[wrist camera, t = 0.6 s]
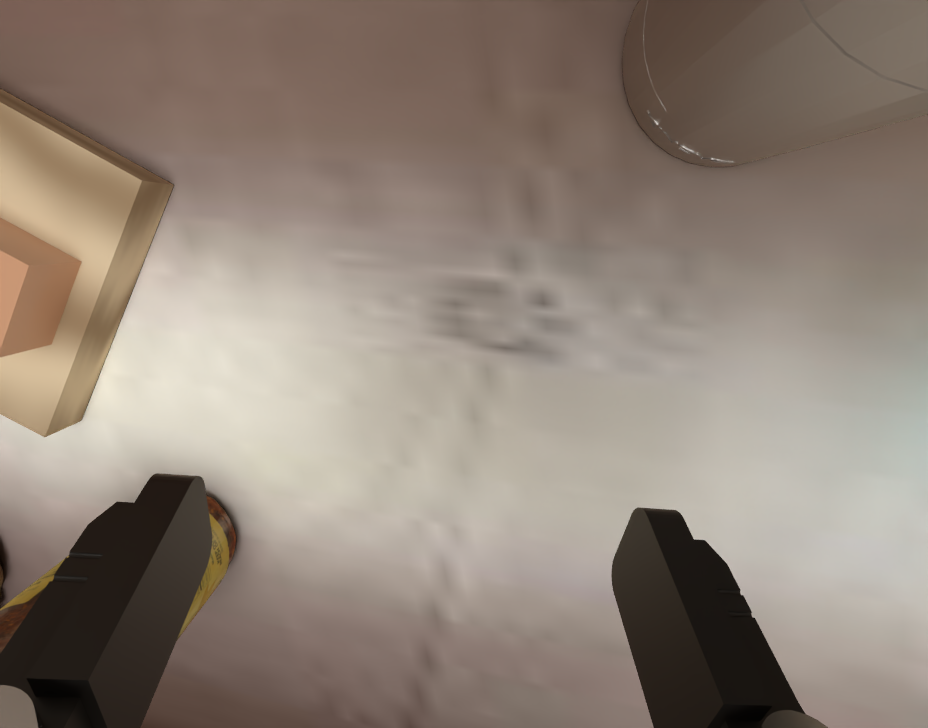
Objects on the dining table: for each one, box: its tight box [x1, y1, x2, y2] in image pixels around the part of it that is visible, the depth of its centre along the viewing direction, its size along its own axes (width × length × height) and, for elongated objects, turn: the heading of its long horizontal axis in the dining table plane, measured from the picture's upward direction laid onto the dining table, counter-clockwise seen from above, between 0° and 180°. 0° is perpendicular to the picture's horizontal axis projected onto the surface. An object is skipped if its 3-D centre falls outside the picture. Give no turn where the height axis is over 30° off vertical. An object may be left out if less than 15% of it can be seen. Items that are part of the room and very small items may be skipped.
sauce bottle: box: [0, 495, 236, 653], centre depth 22 cm, size 7×6×20 cm
